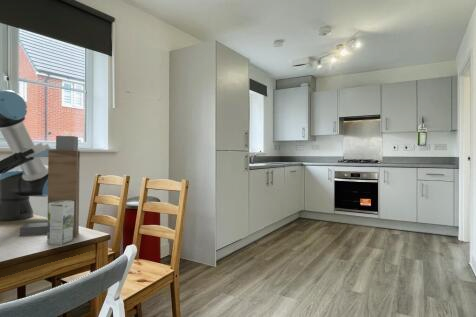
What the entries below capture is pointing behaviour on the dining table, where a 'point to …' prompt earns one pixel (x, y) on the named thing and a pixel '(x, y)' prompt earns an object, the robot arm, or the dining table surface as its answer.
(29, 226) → the board
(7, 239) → the dining table surface
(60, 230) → the syrup box
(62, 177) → the stand
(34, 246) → the dining table surface
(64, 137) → the mallet
